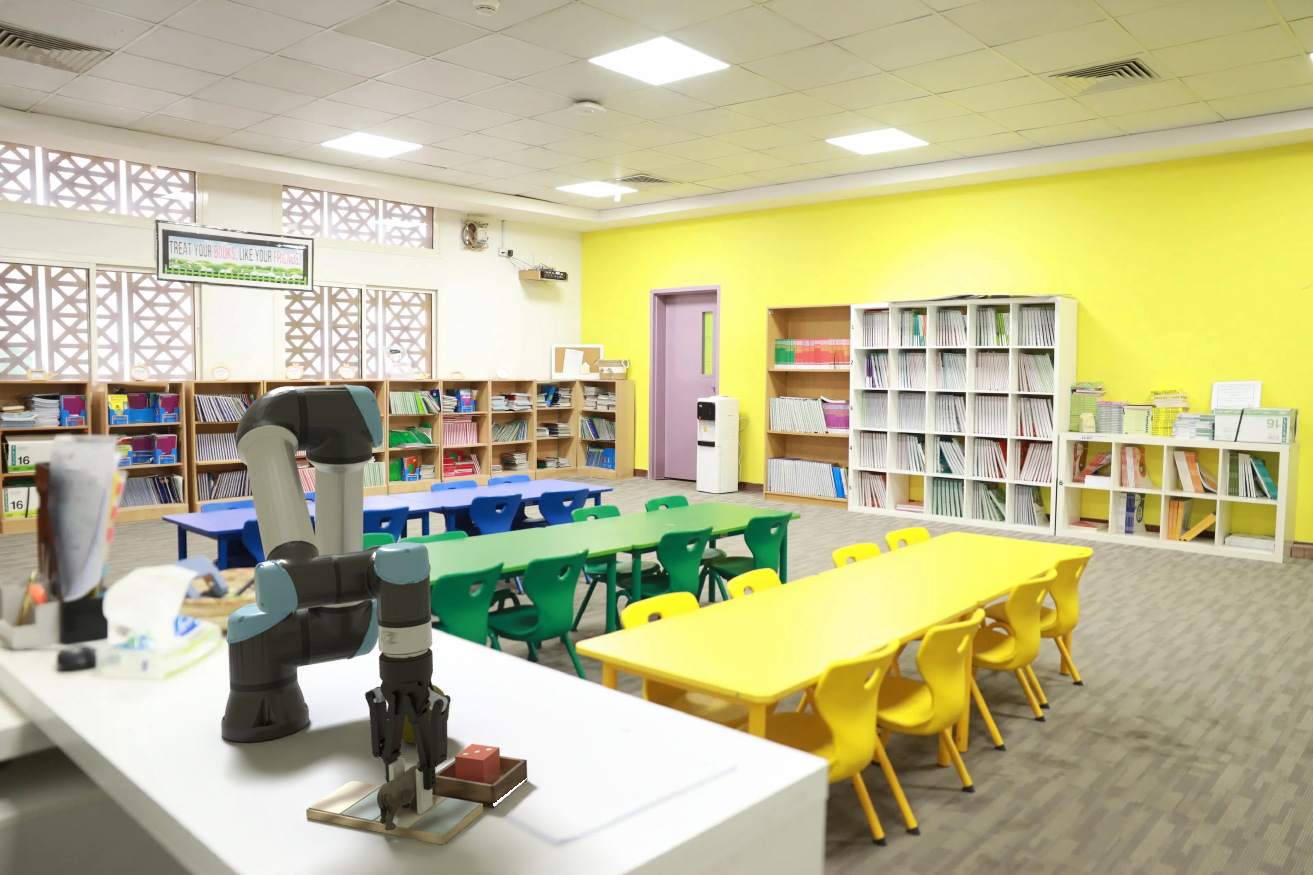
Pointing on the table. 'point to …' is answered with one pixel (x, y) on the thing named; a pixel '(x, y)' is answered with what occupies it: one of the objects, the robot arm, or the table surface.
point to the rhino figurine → (397, 796)
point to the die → (478, 764)
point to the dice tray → (478, 792)
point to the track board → (362, 811)
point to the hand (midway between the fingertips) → (411, 806)
